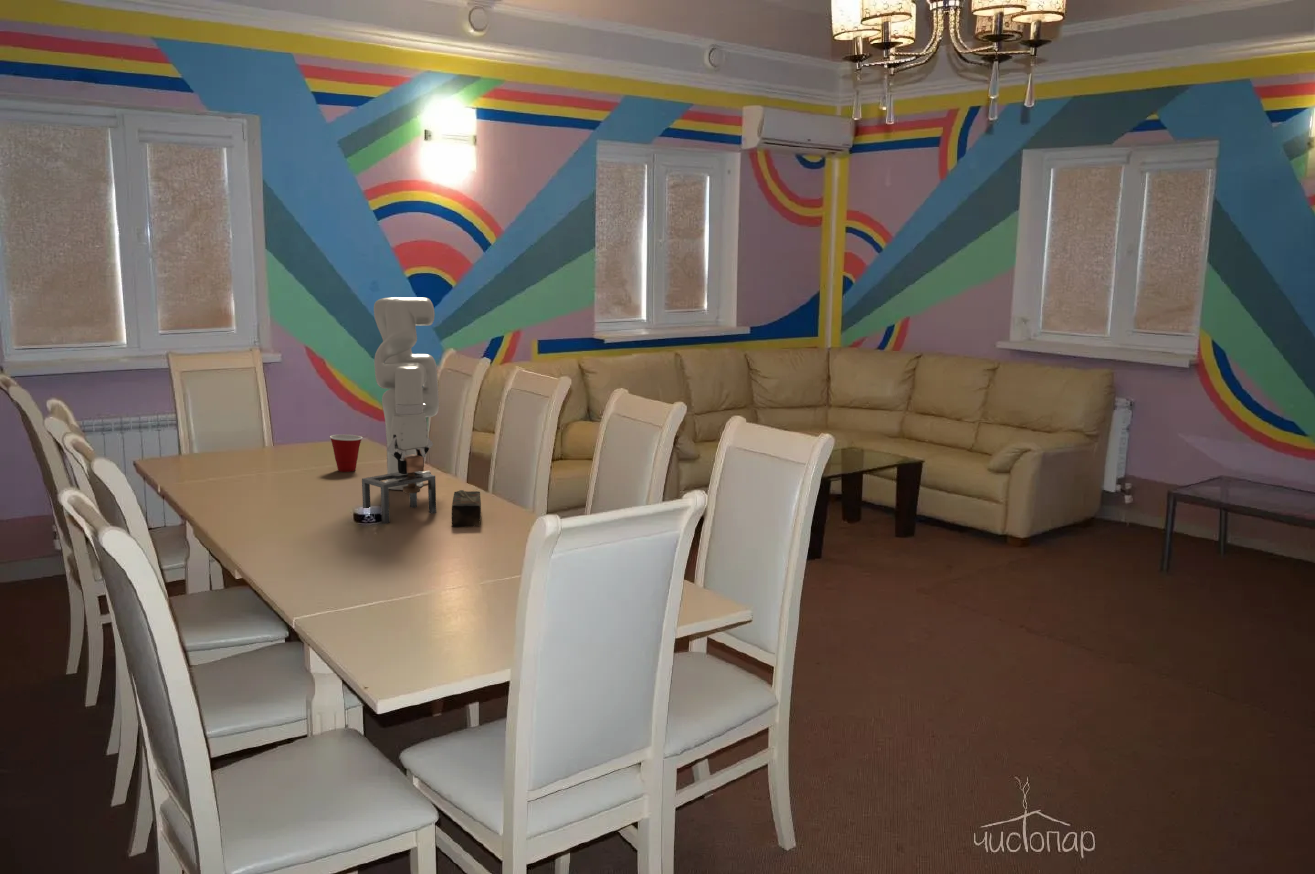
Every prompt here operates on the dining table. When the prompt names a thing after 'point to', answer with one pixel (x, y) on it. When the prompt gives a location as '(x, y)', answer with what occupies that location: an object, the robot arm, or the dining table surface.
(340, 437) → the plastic cup
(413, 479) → the keyhole rack
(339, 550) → the dining table surface
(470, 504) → the beverage carton
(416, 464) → the t peg
